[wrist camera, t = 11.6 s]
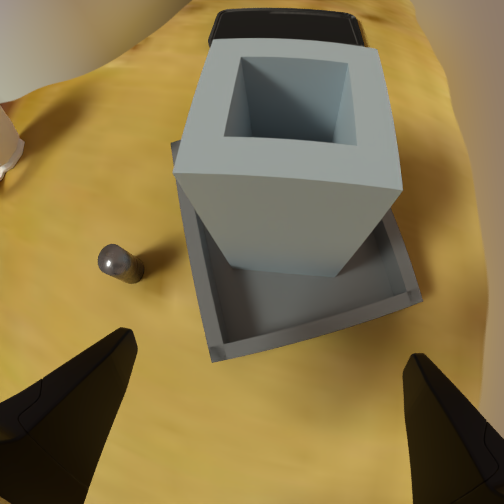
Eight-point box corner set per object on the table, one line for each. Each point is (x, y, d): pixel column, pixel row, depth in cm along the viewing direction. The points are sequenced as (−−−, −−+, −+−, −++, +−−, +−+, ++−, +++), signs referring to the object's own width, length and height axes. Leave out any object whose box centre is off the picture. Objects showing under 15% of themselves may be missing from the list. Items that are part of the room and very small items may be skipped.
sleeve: (334, 277, 18) (403, 190, 7) (232, 268, 18) (172, 172, 8) (336, 164, 20) (370, 27, 9) (247, 157, 20) (220, 19, 10)
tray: (404, 307, 18) (422, 301, 15) (221, 359, 18) (211, 362, 15) (335, 128, 22) (340, 103, 19) (182, 164, 22) (170, 143, 19)
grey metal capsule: (145, 280, 20) (125, 269, 17) (122, 286, 20) (99, 277, 17) (142, 254, 20) (121, 240, 17) (118, 261, 20) (96, 248, 17)
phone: (366, 51, 23) (205, 46, 25) (364, 60, 24) (208, 54, 26) (354, 13, 25) (219, 9, 27) (353, 21, 26) (220, 16, 28)
